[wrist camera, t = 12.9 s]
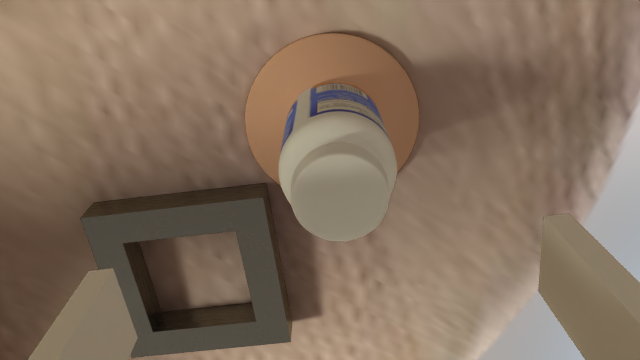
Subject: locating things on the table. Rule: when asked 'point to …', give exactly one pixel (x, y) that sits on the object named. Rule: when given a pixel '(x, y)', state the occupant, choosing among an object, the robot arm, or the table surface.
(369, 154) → the pill bottle
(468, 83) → the table surface
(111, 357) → the robot arm
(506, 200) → the table surface
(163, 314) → the socket plate
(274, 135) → the coaster
